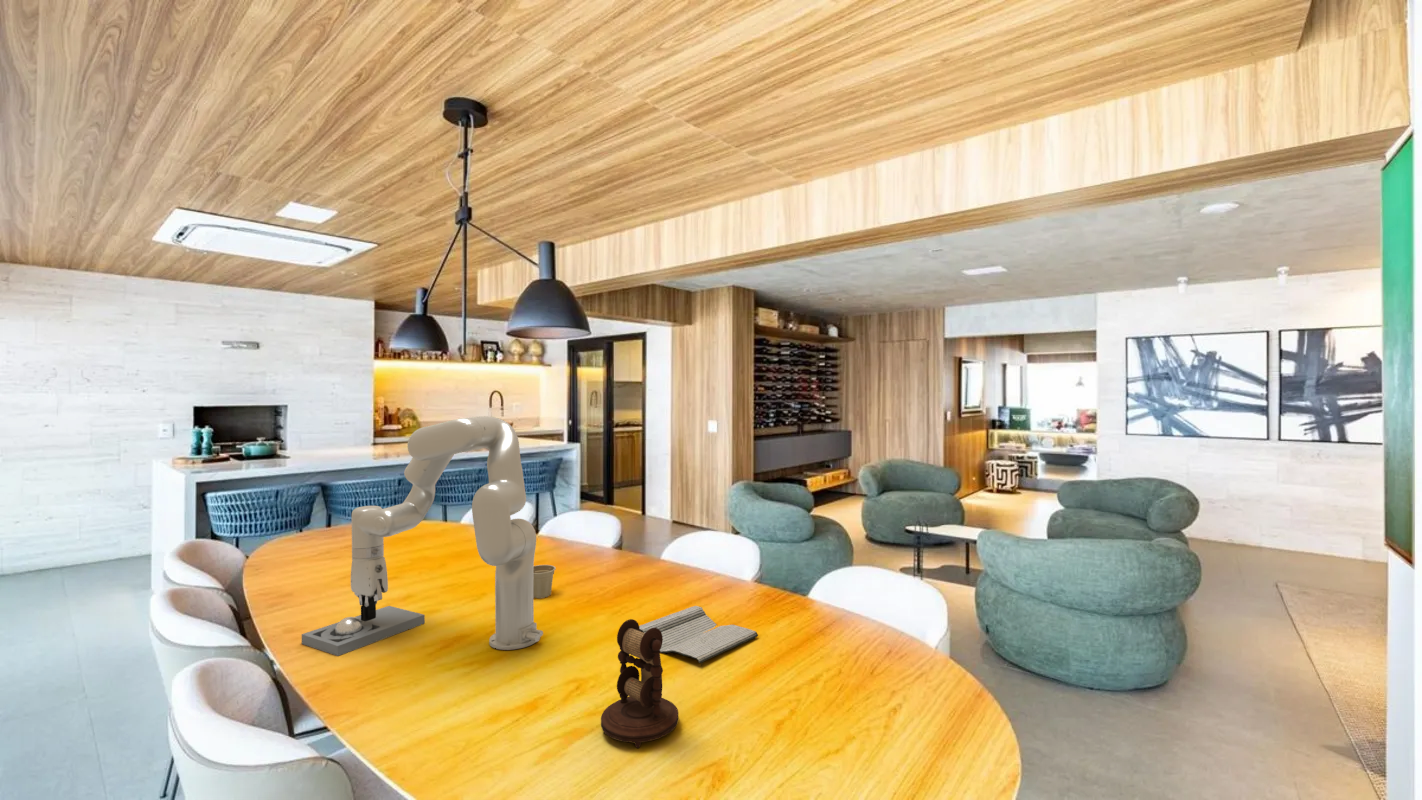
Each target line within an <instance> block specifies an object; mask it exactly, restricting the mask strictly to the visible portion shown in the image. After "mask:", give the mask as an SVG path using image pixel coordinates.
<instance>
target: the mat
mask: <svg viewBox="0 0 1422 800" xmlns="http://www.w3.org/2000/svg"><path fill="white" fill-rule="evenodd" d="M716 625H717V626H716ZM715 626H716V627H715ZM639 628H640V632H643V633H646V631H648V630H649V629H651V628H658V629H659V630H660V631H661V633H662V637H663V641H662V647H661V649H660V651H661V653H660V654H666V653H676V654H679V655H682V657H683V656H684V657H688V658H692V659H694V660H697V662H698V663H699V664H701V665H700V666H701V667H702V665H703V663H704V662H705V661H708V660H710V659H712V658H714V657H716V656H718V655H721V654H722V653H724V652H727V651H729V650H731V649H733V648H735V647H738V646H739V645H741V644H742V645H743V644H744V643H746V642H749V641H752V640H753V639H754V640H755V638H757V637H759V634H758V633H757V631H756V630H753V629H750V628H747V627H742V626H739V625H735V624H728V625H718V624H717V623H716V622H714V621H713V619H711V617H709V616H708V615H707V614H706V612H705V611H704V610H703V607H702V606H698V605H694V606H690V607H688V608H685V609H682V610H680V611H676V612H673V613H670V614H668V615H665V616H662V617H660V618H657V619H655V620H651V621H649V622H646V623H644V624H640V625H639ZM714 628H715V629H714Z"/></svg>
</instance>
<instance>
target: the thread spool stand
mask: <svg viewBox="0 0 1422 800" xmlns="http://www.w3.org/2000/svg"><path fill="white" fill-rule="evenodd" d="M639 626H640V625H639V622H637V620H635V619H632V618H630V619H629V618H628V619H626V620H625V621H624V622H622V624H621V625H620V626H619V629H618V630H617V634H616V642H617V645H618V647H619V650H620V651H619V652H618V654H617V659H618V661H619V664H620V668H619V673H620V674H619V676H618V678H617V682H616V690H617V693H618V694H619V698H620V699H618V700H617V701H615V702H613V703H611V704H610V705H608V706H607V707H606V708H605V709H604V710H603V712H602V713H601V717H600V727H601V729H602V731H603V733H604V734H605V735H606V736H608V737H610V738H612V739H614V740H616V741H620V742H626V743H634V746H635V748H636V749H640V747H641V744H642V743H644V742H645V743H646V742H651V741H654V740H658V739H660V738H662V737H665V736H667V735H668V734H670V733H671V732H672V731H674V730H675V729H676V727H677V725H678V724H679V709H678V708H677V706H676V705H675V703H673V702H672V701H670V700H668V699H666V698H664V697H662V696H663V671H664V668H663V666H662V659H661V654H662V653H661V651H660V649H661V647H662V641H663V637H662V633H661V631H660V630H659V629H658V628H651V629H649V630H648V631H646V633H643V632H640V628H639ZM635 657H636V658H635ZM627 664H633V665H629V666H627ZM639 669H640V670H639ZM640 677H641V678H640Z"/></svg>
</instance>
